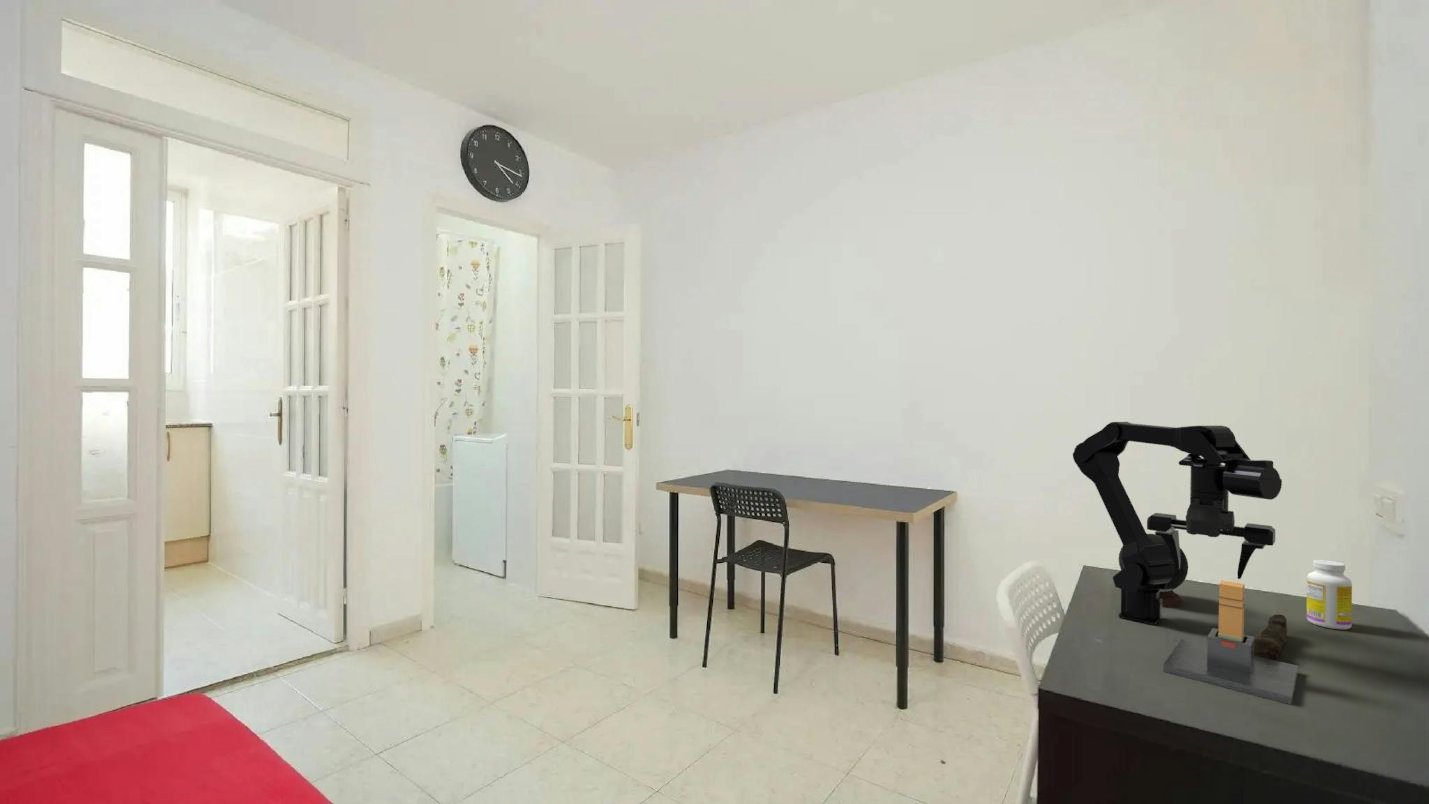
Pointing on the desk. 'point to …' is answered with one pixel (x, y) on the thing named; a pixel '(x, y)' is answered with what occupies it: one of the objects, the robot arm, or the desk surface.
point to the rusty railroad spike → (1271, 638)
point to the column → (1231, 611)
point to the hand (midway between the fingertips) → (1207, 573)
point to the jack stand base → (1233, 667)
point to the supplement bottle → (1329, 596)
